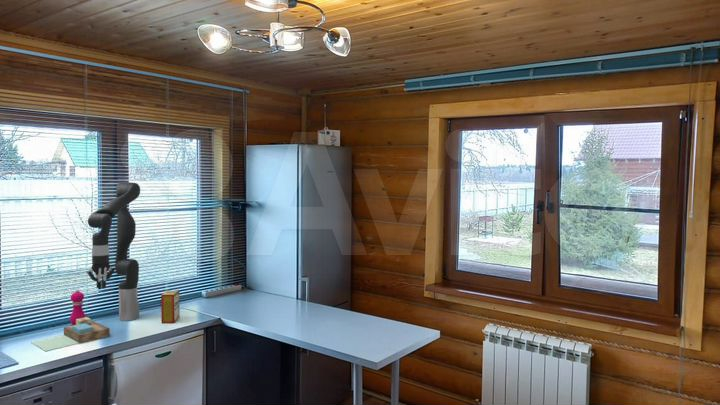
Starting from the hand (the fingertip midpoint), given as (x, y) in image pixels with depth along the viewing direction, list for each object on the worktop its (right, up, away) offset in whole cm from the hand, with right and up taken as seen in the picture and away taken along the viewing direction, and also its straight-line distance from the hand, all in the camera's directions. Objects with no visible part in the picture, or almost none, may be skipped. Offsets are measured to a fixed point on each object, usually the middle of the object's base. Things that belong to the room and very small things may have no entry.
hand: (101, 288), depth 243 cm
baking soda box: (+25, -22, +25) cm, 41 cm away
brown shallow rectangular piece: (-6, -23, -2) cm, 24 cm away
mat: (-15, -24, -12) cm, 31 cm away
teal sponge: (-6, -19, -6) cm, 21 cm away
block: (-10, -19, +3) cm, 22 cm away
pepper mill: (-18, -22, +12) cm, 31 cm away
